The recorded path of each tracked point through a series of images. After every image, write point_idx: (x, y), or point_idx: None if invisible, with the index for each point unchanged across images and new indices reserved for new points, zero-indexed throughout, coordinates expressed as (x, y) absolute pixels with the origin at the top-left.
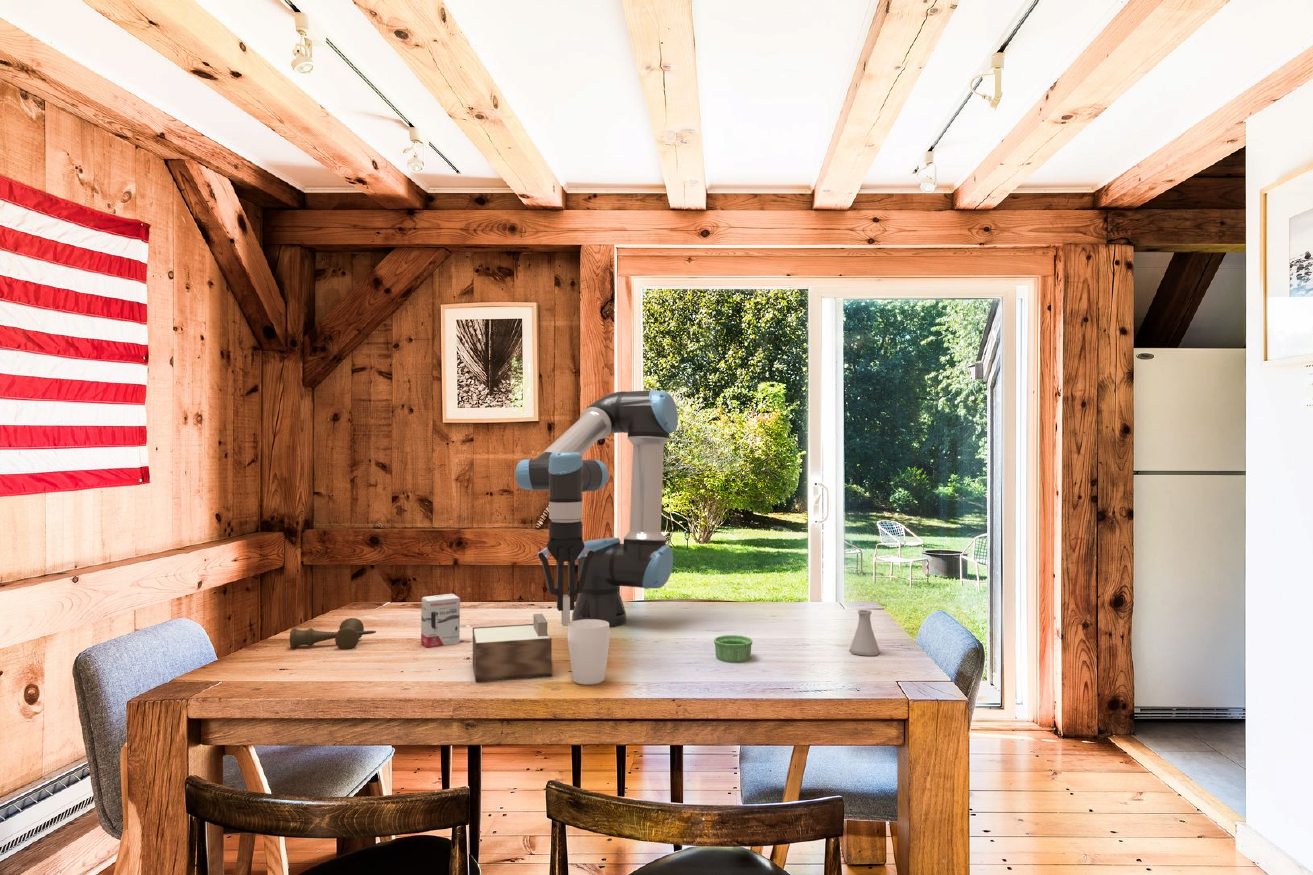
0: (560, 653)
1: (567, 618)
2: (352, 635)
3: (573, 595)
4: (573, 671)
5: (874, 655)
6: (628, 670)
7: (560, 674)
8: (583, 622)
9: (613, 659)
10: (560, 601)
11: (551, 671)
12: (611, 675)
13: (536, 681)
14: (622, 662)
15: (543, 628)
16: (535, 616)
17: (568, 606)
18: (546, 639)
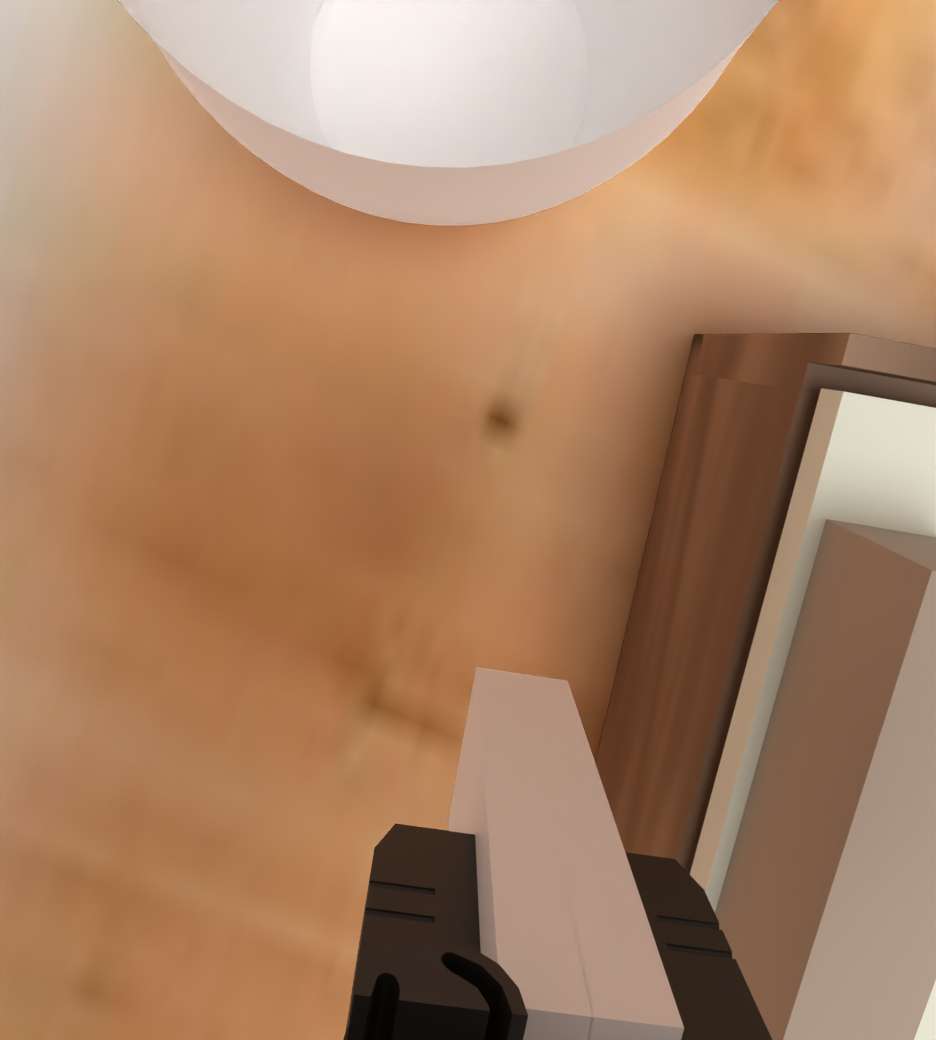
0: None
1: (519, 722)
2: None
3: (420, 972)
4: (619, 20)
5: None
6: (25, 219)
7: (606, 364)
8: (415, 179)
9: (57, 594)
10: (696, 994)
11: (707, 336)
12: (215, 137)
13: (852, 257)
14: (7, 478)
15: (934, 552)
16: (925, 986)
17: (518, 843)
18: (910, 345)
